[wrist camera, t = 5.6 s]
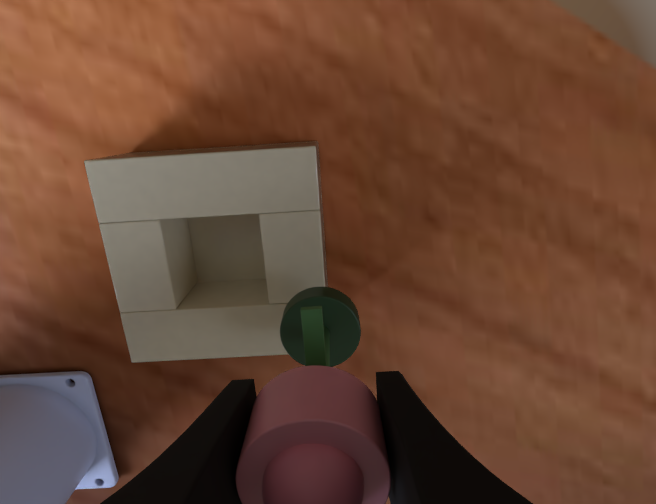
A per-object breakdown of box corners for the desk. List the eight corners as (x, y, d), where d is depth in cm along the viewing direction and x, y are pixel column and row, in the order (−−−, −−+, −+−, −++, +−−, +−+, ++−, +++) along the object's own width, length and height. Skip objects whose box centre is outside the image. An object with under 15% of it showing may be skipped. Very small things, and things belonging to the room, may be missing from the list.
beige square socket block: (163, 323, 22) (131, 362, 19) (128, 152, 20) (82, 160, 16) (329, 314, 22) (329, 352, 19) (318, 140, 19) (315, 145, 16)
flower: (282, 361, 17) (235, 597, 9) (270, 264, 16) (202, 431, 7) (365, 356, 17) (401, 590, 8) (361, 258, 15) (397, 420, 7)
